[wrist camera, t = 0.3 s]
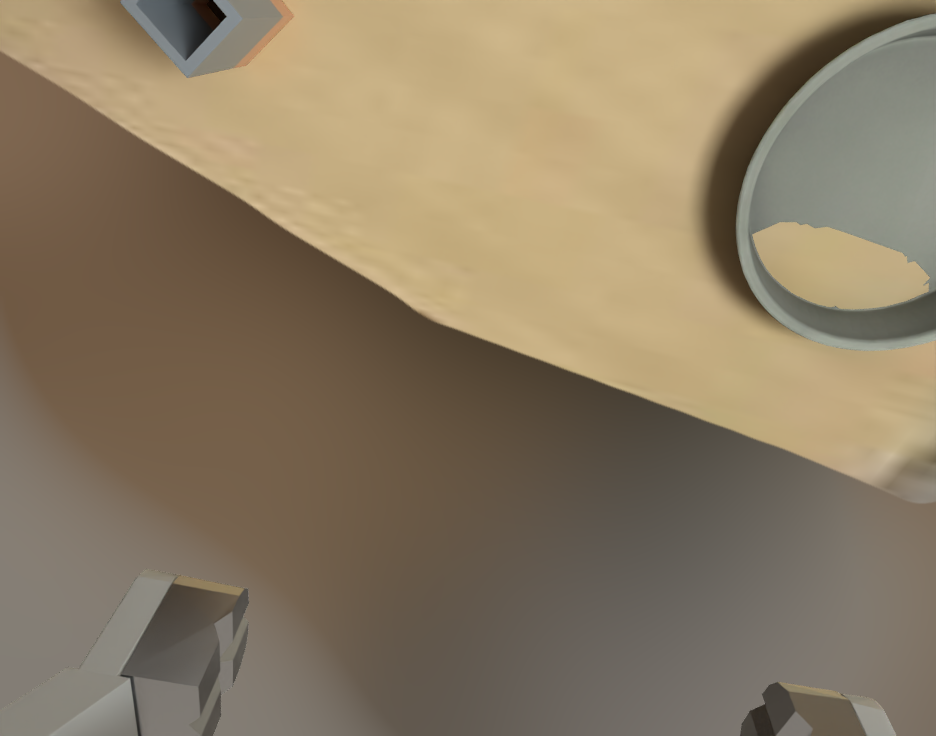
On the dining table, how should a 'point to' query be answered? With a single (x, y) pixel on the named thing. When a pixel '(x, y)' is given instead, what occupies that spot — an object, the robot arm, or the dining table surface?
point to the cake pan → (853, 181)
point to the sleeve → (210, 30)
